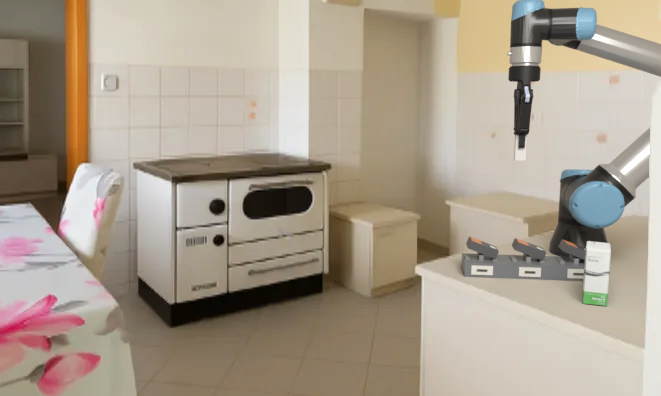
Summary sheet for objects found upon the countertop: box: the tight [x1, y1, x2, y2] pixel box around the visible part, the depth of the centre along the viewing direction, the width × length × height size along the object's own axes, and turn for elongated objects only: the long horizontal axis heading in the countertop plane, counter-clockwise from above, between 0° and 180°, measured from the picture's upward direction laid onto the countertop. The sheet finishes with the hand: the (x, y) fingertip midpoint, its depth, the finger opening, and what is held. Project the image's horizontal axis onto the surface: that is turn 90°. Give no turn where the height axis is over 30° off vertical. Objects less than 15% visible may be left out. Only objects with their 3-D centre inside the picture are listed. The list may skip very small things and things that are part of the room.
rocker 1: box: [465, 236, 500, 259], centre depth 153 cm, size 7×5×2 cm
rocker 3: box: [558, 239, 586, 260], centre depth 150 cm, size 7×5×2 cm
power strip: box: [461, 252, 585, 282], centre depth 152 cm, size 30×9×5 cm, turn 83°
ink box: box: [582, 241, 612, 307], centre depth 133 cm, size 9×5×12 cm, turn 158°
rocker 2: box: [511, 237, 547, 260], centre depth 151 cm, size 7×5×2 cm
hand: (519, 160), depth 159 cm, fingers closed
